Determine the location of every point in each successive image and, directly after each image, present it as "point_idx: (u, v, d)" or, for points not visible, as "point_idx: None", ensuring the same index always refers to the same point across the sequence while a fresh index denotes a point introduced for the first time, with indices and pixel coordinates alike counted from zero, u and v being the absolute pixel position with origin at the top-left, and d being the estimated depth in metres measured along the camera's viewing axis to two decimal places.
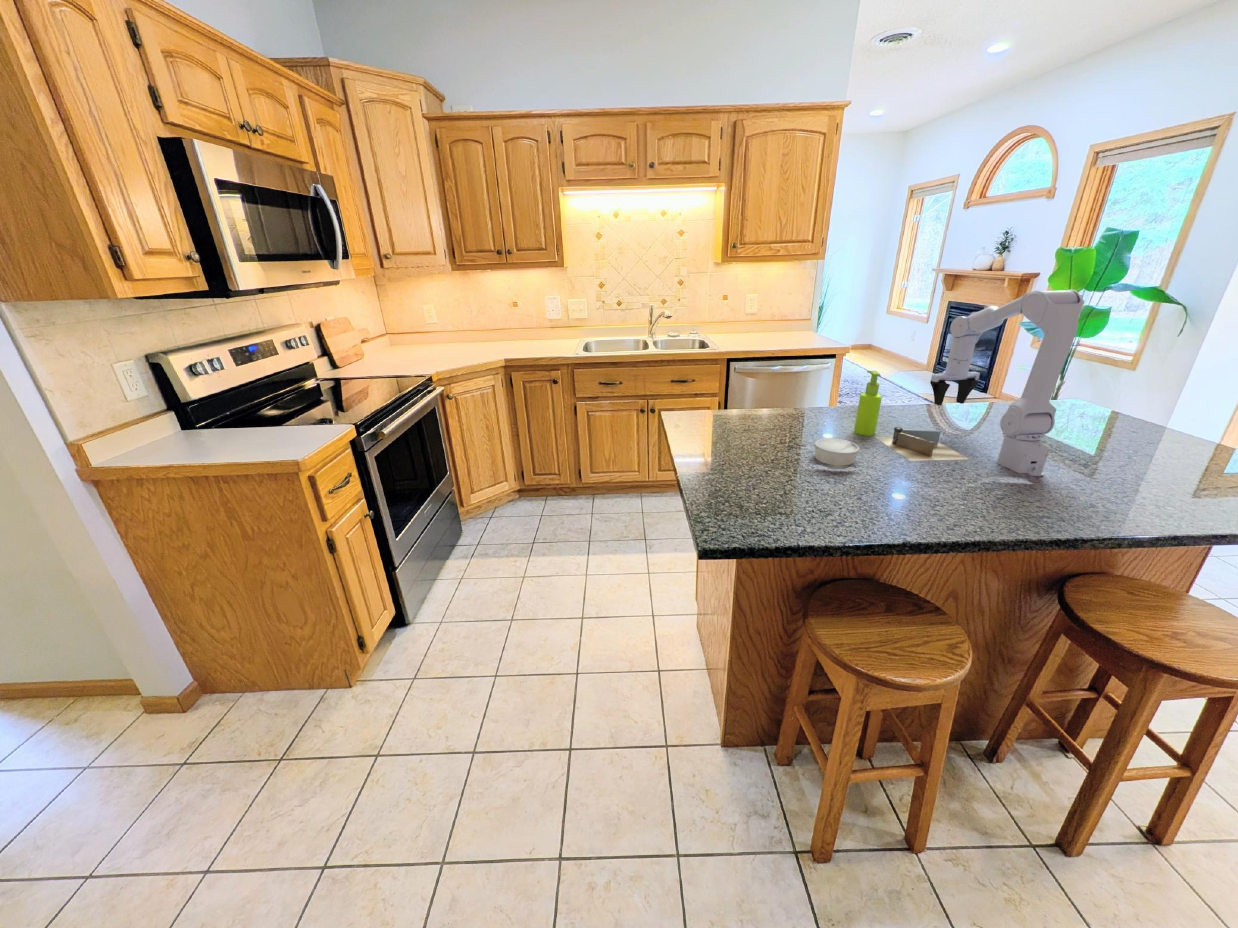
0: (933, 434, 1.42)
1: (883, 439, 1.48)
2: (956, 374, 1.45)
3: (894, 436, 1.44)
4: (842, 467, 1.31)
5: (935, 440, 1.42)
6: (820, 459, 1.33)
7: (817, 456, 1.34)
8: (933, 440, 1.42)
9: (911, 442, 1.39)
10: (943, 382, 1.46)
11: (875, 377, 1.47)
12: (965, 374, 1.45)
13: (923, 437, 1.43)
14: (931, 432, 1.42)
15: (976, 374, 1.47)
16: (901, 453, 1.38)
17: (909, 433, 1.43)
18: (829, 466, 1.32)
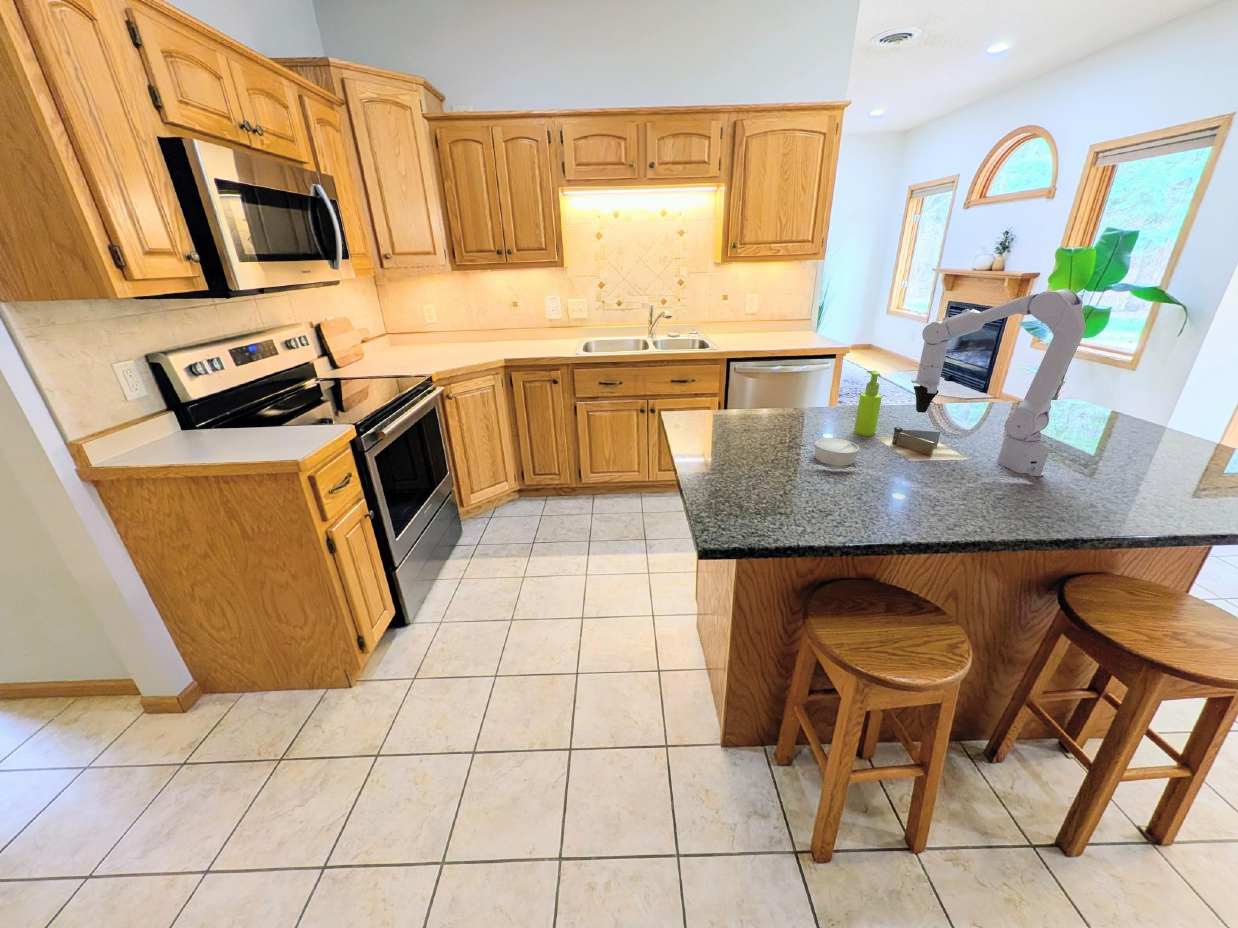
0: (933, 434, 1.42)
1: (883, 439, 1.48)
2: (937, 381, 1.40)
3: (894, 436, 1.44)
4: (842, 467, 1.31)
5: (935, 440, 1.42)
6: (820, 459, 1.33)
7: (818, 456, 1.34)
8: (933, 440, 1.42)
9: (911, 442, 1.39)
10: None
11: (875, 377, 1.47)
12: None
13: (923, 437, 1.43)
14: (931, 432, 1.42)
15: None
16: (901, 453, 1.38)
17: (909, 433, 1.43)
18: (829, 466, 1.32)
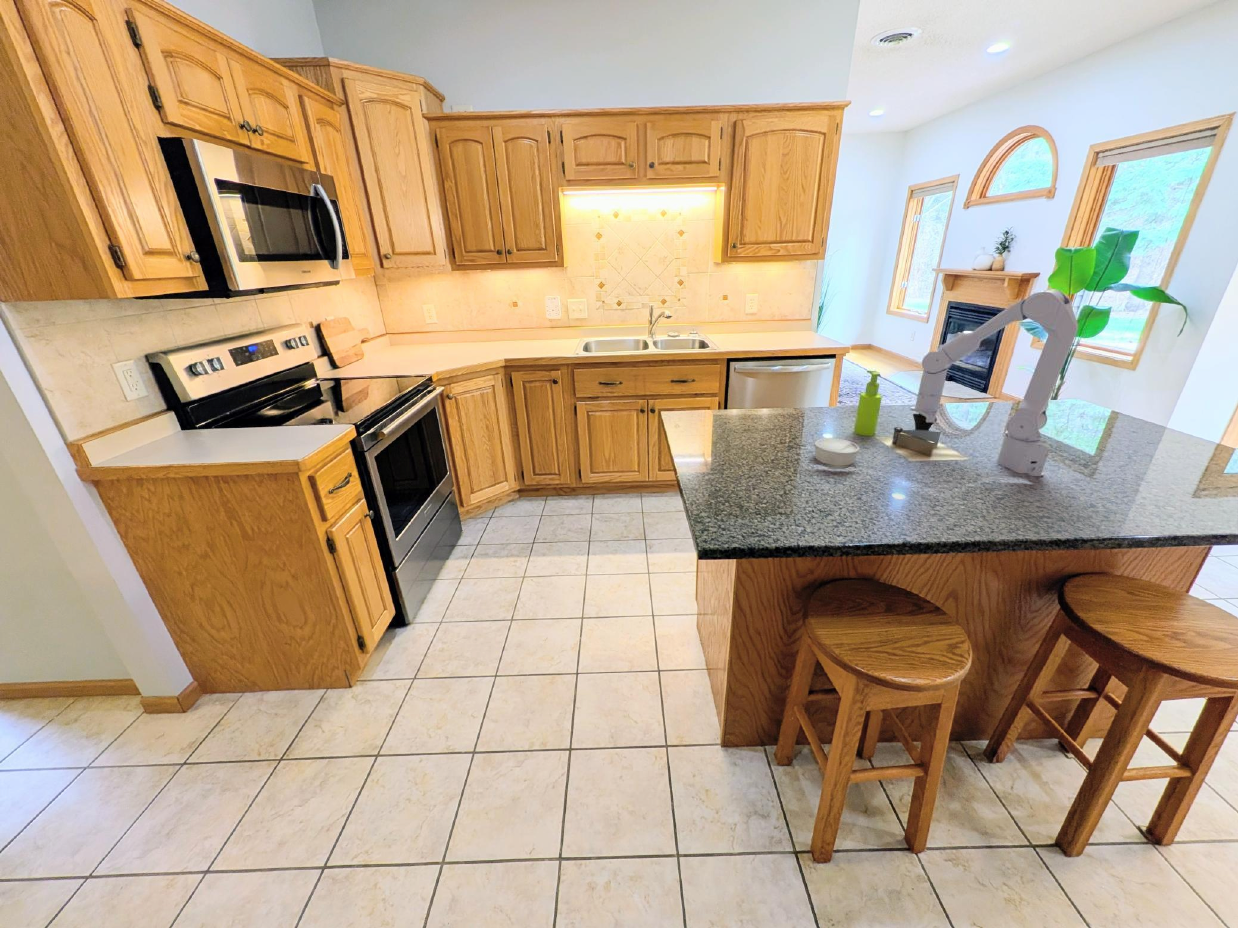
0: (933, 434, 1.42)
1: (883, 439, 1.48)
2: (936, 409, 1.39)
3: (894, 436, 1.44)
4: (842, 467, 1.31)
5: (935, 440, 1.42)
6: (820, 459, 1.33)
7: (817, 456, 1.34)
8: (933, 440, 1.42)
9: (911, 442, 1.39)
10: None
11: (875, 377, 1.47)
12: None
13: (923, 437, 1.43)
14: (931, 432, 1.42)
15: None
16: (901, 453, 1.38)
17: (909, 433, 1.43)
18: (829, 466, 1.32)
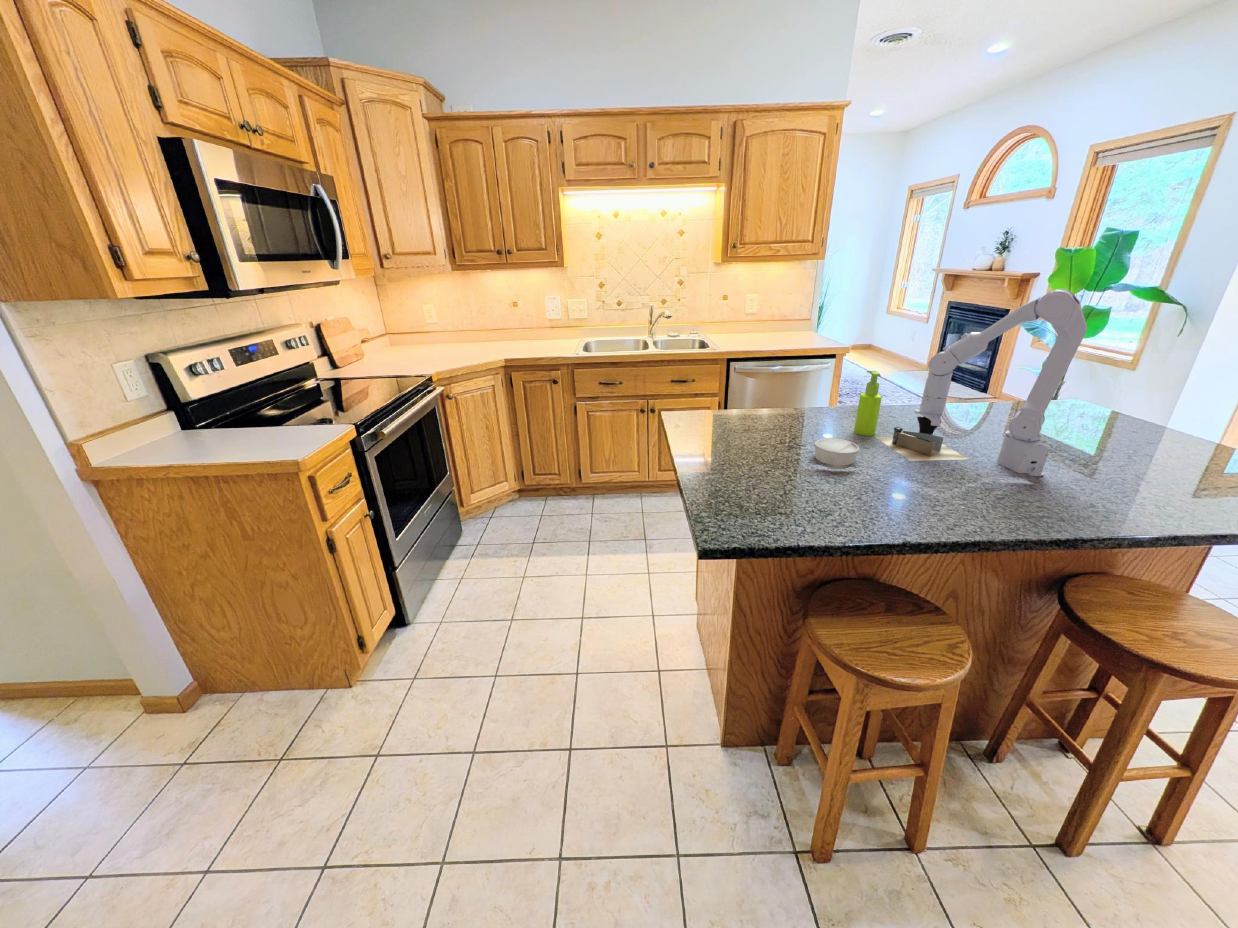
0: (935, 439, 1.38)
1: (883, 439, 1.48)
2: (941, 412, 1.36)
3: (894, 436, 1.44)
4: (842, 467, 1.31)
5: (937, 445, 1.38)
6: (820, 459, 1.33)
7: (817, 456, 1.34)
8: (935, 445, 1.39)
9: (911, 442, 1.39)
10: None
11: (875, 377, 1.47)
12: None
13: None
14: (933, 436, 1.38)
15: None
16: (901, 453, 1.38)
17: None
18: (829, 466, 1.32)
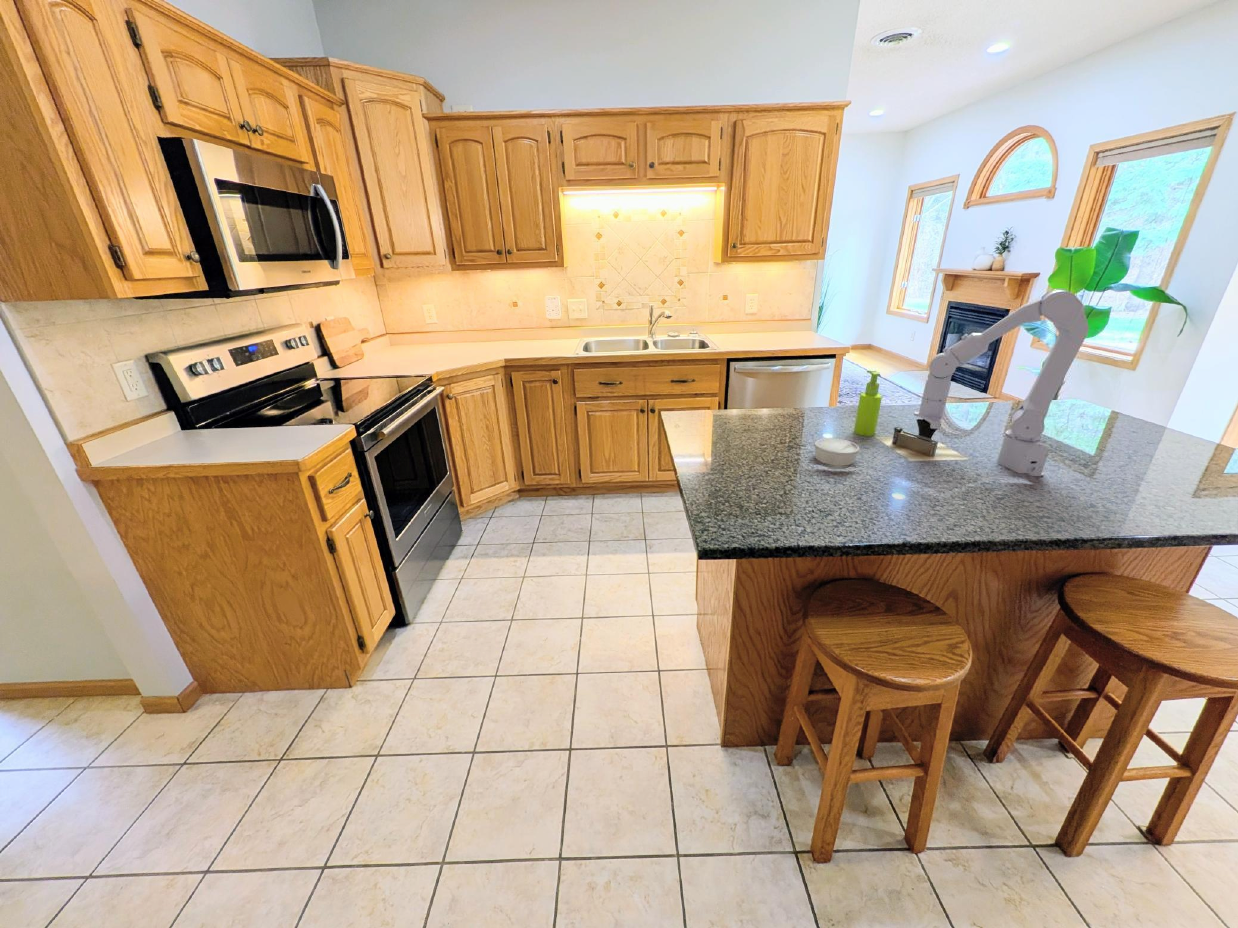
0: None
1: (883, 439, 1.48)
2: (941, 415, 1.34)
3: (894, 436, 1.44)
4: (842, 467, 1.31)
5: None
6: (820, 459, 1.33)
7: (817, 456, 1.34)
8: None
9: (911, 442, 1.39)
10: None
11: (875, 377, 1.47)
12: None
13: None
14: (928, 440, 1.36)
15: None
16: (901, 453, 1.38)
17: None
18: (829, 466, 1.32)
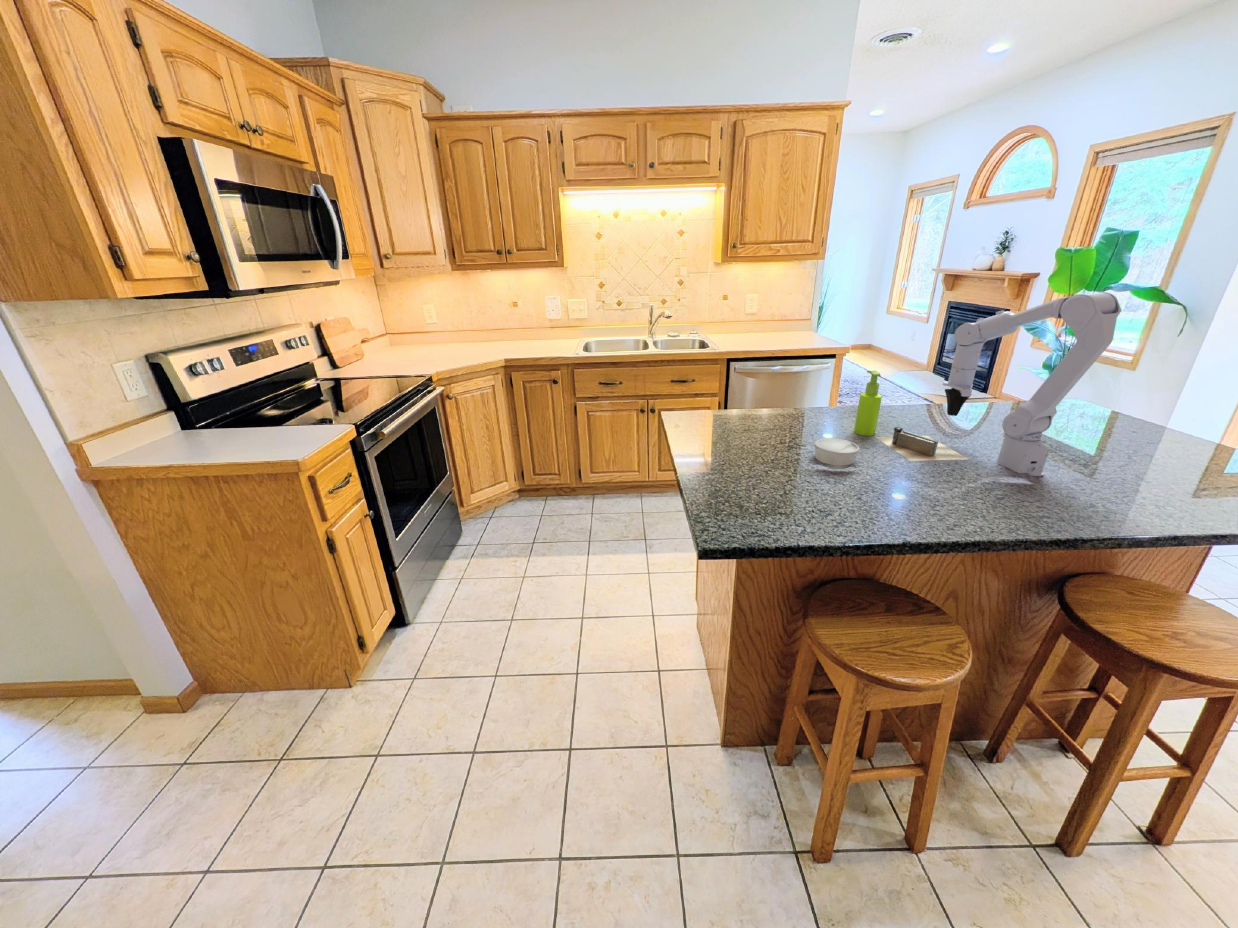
0: None
1: (883, 439, 1.48)
2: (971, 384, 1.36)
3: (894, 436, 1.44)
4: (842, 467, 1.31)
5: None
6: (820, 459, 1.33)
7: (818, 456, 1.34)
8: None
9: (911, 442, 1.39)
10: None
11: (875, 377, 1.47)
12: None
13: None
14: (928, 440, 1.36)
15: None
16: (901, 453, 1.38)
17: None
18: (829, 466, 1.32)
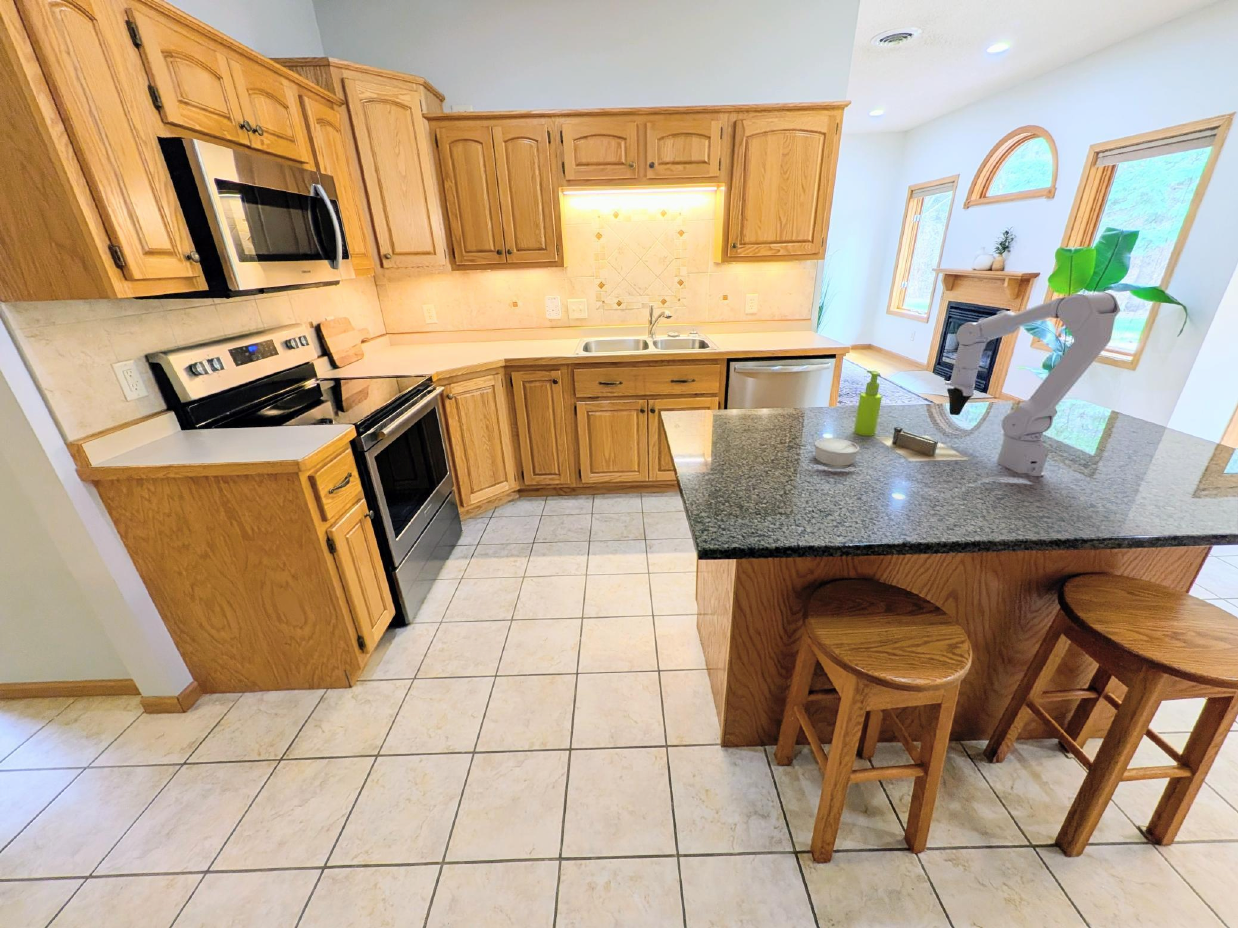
0: None
1: (883, 439, 1.48)
2: (973, 383, 1.37)
3: (894, 436, 1.44)
4: (842, 467, 1.31)
5: None
6: (820, 459, 1.33)
7: (817, 456, 1.34)
8: None
9: (911, 442, 1.39)
10: None
11: (875, 377, 1.47)
12: None
13: None
14: (928, 440, 1.36)
15: None
16: (901, 453, 1.38)
17: None
18: (829, 466, 1.32)
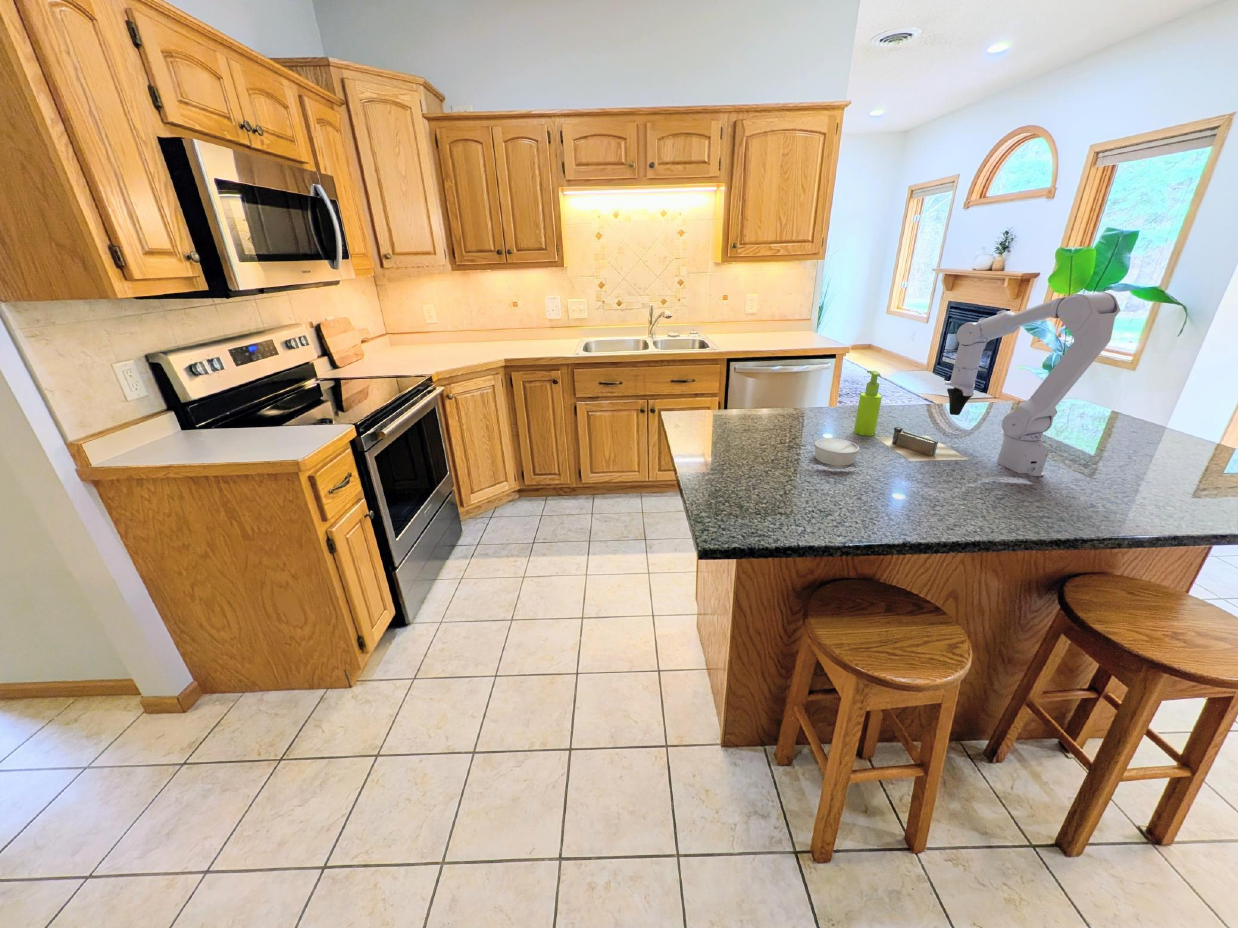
0: None
1: (883, 439, 1.48)
2: (973, 383, 1.37)
3: (894, 436, 1.44)
4: (842, 467, 1.31)
5: None
6: (820, 459, 1.33)
7: (817, 456, 1.34)
8: None
9: (911, 442, 1.39)
10: None
11: (875, 377, 1.47)
12: None
13: None
14: (928, 440, 1.36)
15: None
16: (901, 453, 1.38)
17: None
18: (829, 466, 1.32)
